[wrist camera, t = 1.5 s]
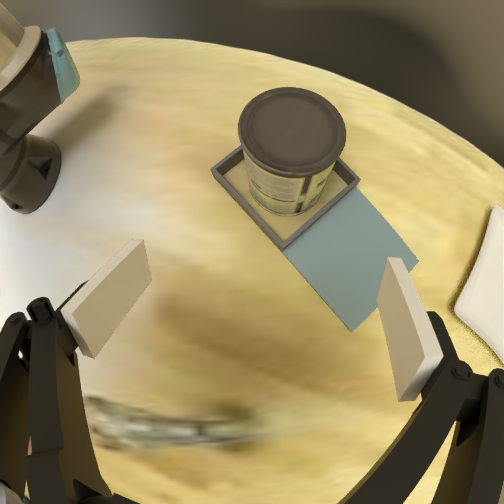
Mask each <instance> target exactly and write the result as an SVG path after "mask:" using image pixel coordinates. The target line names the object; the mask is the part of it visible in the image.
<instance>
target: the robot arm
mask: <svg viewBox="0 0 504 504" xmlns="http://www.w3.org/2000/svg"><path fill="white" fill-rule="evenodd" d="M79 84H80V76H79V73H78V71H77V68H76V66H75V64H74V62H73V59H72V57H71V55H70V53H69V51H68V49H67V47H66V45H65V43H64V41H63V39H62V37H61V35H60V33H59V32H58V31H57V29H56V28H52V29H50V30H47V31H46V32H45V33H43V31H42V30H41V29H40V28H39V27H38V26H30V27H25V28H23V27H22V26H21V25H20V24H19V23H18V22H17V20H16V19H15V18H14V17H13V16H12V15H11V14H10V13H9V12H8V11H7V9H5V7H4V6H3V5H2V4H1V3H0V198H1V199H2V200H3V201H4V202H5V203H6V204H7V205H8V206H9V207H10V208H11V209H12V210H14V211H16V212H19V213H22V214H28V213H31V212H33V211H35V210H36V209H37V208H39V207H40V206H41V205H42V204H43V202H44V201H45V200H46V199H47V197H48V196H49V194H50V193H51V191H52V189H53V187H54V185H55V183H56V180H57V177H58V174H59V170H60V164H61V155H60V150H59V148H58V146H57V145H56V144H55V143H53V142H52V141H51V140H49V139H48V138H45V137H40V136H35V135H30V134H28V133H29V132H30V131H31V130H32V129H33V128H34V127H35V126H36V125H37V124H38V123H40V122H41V121H42V120H43V119H44V118H45V117H46V116H47V115H48V114H50V113H51V112H52V111H53V110H54V109H55V108H57V107H58V106H59V105H60V104H62V103H63V102H64V100H65V99H66V98H68V97H69V96H70V95H71V94H72V93H73V92H74V91H76V89H77V88H78V87H79ZM151 281H152V278H151V273H150V269H149V264H148V260H147V255H146V250H145V245H144V240H139V239H132V240H131V241H130V242H129V243H128V244H126V245H125V246H124V247H123V248H122V249H121V250H120V251H119V252H118V253H117V254H116V255H115V256H114V257H113V258H111V259H110V260H109V261H108V262H107V263H106V264H105V265H104V266H103V267H102V268H101V269H100V270H99V271H98V272H97V273H96V274H95V275H94V276H93V277H92V278H91V279H90V280H88V281H86V282H84V283H83V284H81V285H80V286H79V287H78V288H77V289H76V290H75V292H73V293H72V294H71V295H70V297H68V298H67V299H66V300H65V301H64V302H63V303H62V304H61V306H60V307H59V308H58V309H57V310H56V311H54V309H53V307H52V305H51V302H50V300H49V299H48V298H47V297H40V298H37V299H35V300H33V301H32V302H31V303H30V304H29V305H28V306H27V309H26V310H27V312H28V314H29V316H30V317H31V319H32V320H27V318H26V316H25V315H24V313H22V312H17V313H13V314H12V315H11V316H10V317H9V318H8V319H7V320H6V322H5V324H4V326H3V328H2V330H1V332H0V504H22V501H23V497H24V492H25V486H26V481H27V486H28V492H29V497H30V501H31V504H139V503H137V502H135V501H132V500H130V499H127V498H125V497H123V496H120V495H118V494H116V493H114V494H113V496H112V493H111V491H110V489H109V487H108V486H107V484H106V483H105V482H104V480H103V479H102V477H101V474H100V472H99V468H98V465H97V461H96V458H95V454H94V450H93V446H92V442H91V438H90V434H89V429H88V424H87V420H86V414H85V409H84V403H83V397H82V391H81V384H80V377H79V368H78V359H77V354H76V352H75V349H76V348H77V347H79V348H80V350H81V352H82V354H83V355H85V356H88V357H91V358H94V359H95V357H96V356H97V354H98V353H99V352H100V350H101V349H102V347H103V346H104V344H105V343H106V342H107V340H108V339H109V337H110V336H111V335H112V333H113V332H114V330H115V329H116V328H117V326H118V325H119V324H120V322H121V321H122V319H123V318H124V317H125V315H126V314H127V313H128V311H129V310H130V309H131V307H132V306H133V305H134V303H135V302H136V301H137V299H138V298H139V297H140V295H141V294H142V293H143V292H144V290H145V289H146V288H147V286H148V285H149V284H150V283H151ZM377 304H378V308H379V312H380V316H381V320H382V324H383V328H384V332H385V337H386V341H387V345H388V350H389V355H390V360H391V364H392V370H393V375H394V380H395V386H396V392H397V398H398V402H402V401H415V400H416V398H417V397H418V395H419V394H420V392H421V396H422V401H421V403H420V404H419V406H418V407H417V408H416V409H415V411H414V412H413V413H412V414H413V415H412V416H411V418H410V419H409V421H408V422H407V424H406V425H405V426H404V428H403V429H402V430H401V432H400V433H399V435H398V436H397V437H396V439H395V440H394V441H393V443H392V444H391V445H390V446H389V448H388V449H387V450H386V451H385V453H384V454H383V455H382V456H381V458H380V459H379V460H378V461H377V462H376V463H375V465H374V466H373V467H372V468H371V469H370V470H369V472H368V473H367V474H366V475H365V476H364V477H363V478H362V479H361V480H360V481H359V482H358V484H357V485H356V486H355V487H354V488H353V489H352V490H351V491H350V492H349V493H348V494H347V495H346V496H345V497H344V498H343V499H342V500H341V501H340V502H339V503H337V504H403V502H404V501H405V500H406V499H407V497H408V496H409V495H410V493H411V492H412V491H413V489H414V488H415V486H416V485H417V484H418V482H419V481H420V479H421V478H422V476H423V475H424V473H425V472H426V470H427V469H428V467H429V466H430V464H431V463H432V461H433V459H434V458H435V456H436V454H437V453H438V451H439V449H440V448H441V446H442V444H443V442H444V440H445V439H446V437H447V435H448V433H449V431H450V429H451V427H452V425H453V424H454V422H455V421H457V422H456V427H455V431H454V435H453V439H452V443H451V447H450V450H449V454H448V457H447V460H446V464H445V467H444V470H443V473H442V476H441V479H440V482H439V484H438V487H437V490H436V492H435V495H434V497H433V500H432V502H431V504H498V501H499V498H500V493H501V490H502V485H503V481H504V370H503V369H499V368H496V369H493V370H492V371H491V372H490V374H489V375H488V376H484V375H479V374H475V373H473V371H472V369H471V367H470V366H469V365H468V364H467V363H466V362H464V361H461V360H459V358H458V356H457V353H456V351H455V348H454V346H453V343H452V341H451V338H450V336H449V334H448V331H447V329H446V327H445V325H444V322H443V320H442V319H441V317H440V316H439V315H438V314H437V313H436V312H433V311H426V310H425V308H424V305H423V303H422V301H421V299H420V296H419V294H418V292H417V290H416V288H415V285H414V283H413V281H412V279H411V277H410V275H409V273H408V271H407V269H406V267H405V265H404V263H403V261H402V259H401V258H394V257H388V258H387V262H386V266H385V270H384V274H383V278H382V282H381V286H380V290H379V293H378V297H377ZM19 350H20V352H21V353H22V355H23V357H22V359H21V358H20V357H19V356H18V354H19ZM30 438H31V448H32V453H31V455H28V449H29V440H30Z"/></svg>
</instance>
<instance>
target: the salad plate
mask: <svg viewBox="0 0 504 504" xmlns="http://www.w3.org/2000/svg"><path fill="white" fill-rule="evenodd" d="M454 313H455V314H456V315H457V316H458V317H459V318H460V319H461V320H462V321H463V322H464V323H465V324H466V325H467V326H468V327H470V328H471V329H472V330H473V331H474V332H475V333H477V334H478V335H479V336H480V337H481V338H482V339H483V340H484V341H485V342H486V343H487V344H488V346H489V347H490V348H491V349H492V350H493V351H494V352H495V353H496V355H497V356H498V357H499V359H500V360H501V361H502V363H503V364H504V210H503V209H502V208H501V207H500V206H499V205H497V204H495V205H494V206H493V208H492V211H491V214H490V218H489V222H488V226H487V230H486V233H485V237H484V240H483V243H482V246H481V249H480V252H479V254H478V257H477V260H476V262H475V265H474V267H473V269H472V271H471V274H470V276H469V278H468V280H467V282H466V284H465V286H464V288H463V290H462V291H461V293H460V295H459V297H458V299H457V301H456V303H455V306H454Z"/></svg>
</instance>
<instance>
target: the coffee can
mask: <svg viewBox="0 0 504 504" xmlns="http://www.w3.org/2000/svg"><path fill="white" fill-rule="evenodd" d="M238 135H239V139H240V142H241V145H242V147H243V153H244V158H245V163H246V169H247V173H248V178H249V187H250V191H251V193H252V196H253V198H254V199H255V201H256V202H257V203H258V204H259V205H260V206H261V207H262V208H264V209H265V210H267V211H269V212H271V213H273V214H276V215H282V216H293V215H298V214H301V213H303V212H305V211H307V210H308V209H310V208H311V207H312V206H313V205H314V204H315V203H316V202H317V200H318V198H319V196H320V194H321V191H322V189H323V187H324V185H325V183H326V181H327V179H328V177H329V174H330V172H331V170H332V168H333V166H334V164H335V162H336V160H337V159H338V157H339V156H340V154H341V152H342V151H343V149H344V146H345V142H346V128H345V124H344V121H343V119H342V117H341V115H340V113H339V112H338V110H337V109H336V108H335V107H334V106H333V105H332V104H331V103H330V102H329V101H328V100H326V99H325V98H324V97H322V96H320V95H319V94H317V93H314V92H312V91H309V90H306V89H301V88H295V87H281V88H275V89H272V90H268V91H265V92H263V93H261V94H259V95H258V96H256V97H255V98H253V99H252V100H251V101H250V102H249V103H248V104H247V105H246V107H245V108H244V109H243V111H242V113H241V115H240V118H239V123H238Z"/></svg>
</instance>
